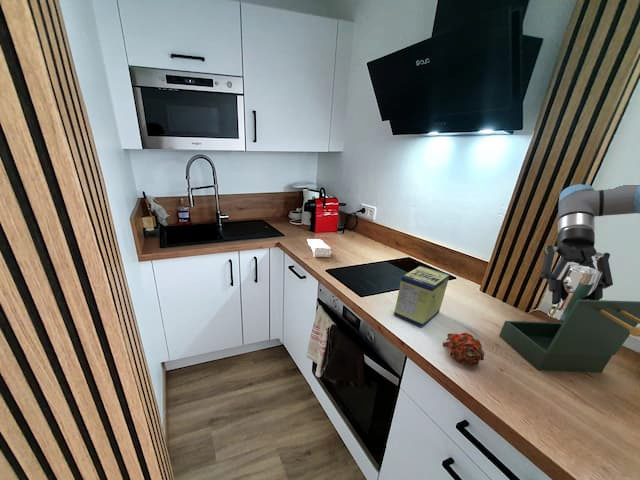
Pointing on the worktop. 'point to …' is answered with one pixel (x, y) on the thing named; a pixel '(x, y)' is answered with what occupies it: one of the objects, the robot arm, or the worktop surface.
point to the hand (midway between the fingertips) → (574, 306)
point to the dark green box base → (535, 342)
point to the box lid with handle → (597, 327)
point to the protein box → (421, 295)
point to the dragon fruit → (465, 348)
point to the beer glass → (574, 289)
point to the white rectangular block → (319, 248)
